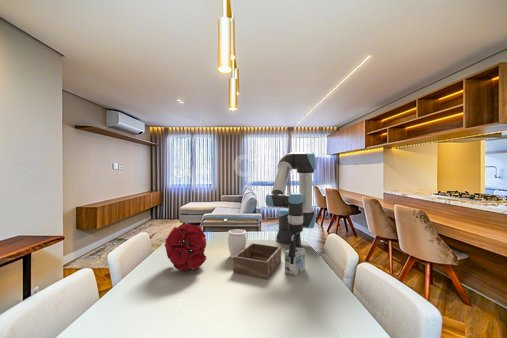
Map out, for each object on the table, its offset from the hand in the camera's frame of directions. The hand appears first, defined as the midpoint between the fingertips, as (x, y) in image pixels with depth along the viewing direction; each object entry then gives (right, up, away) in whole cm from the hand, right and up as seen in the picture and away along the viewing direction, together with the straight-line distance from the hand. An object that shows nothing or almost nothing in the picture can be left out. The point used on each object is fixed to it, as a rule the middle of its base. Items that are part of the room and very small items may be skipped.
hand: (295, 265), depth 121 cm
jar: (-31, -3, +18) cm, 36 cm away
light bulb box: (0, -3, 0) cm, 3 cm away
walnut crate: (-19, -2, +5) cm, 19 cm away
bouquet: (-56, -2, +4) cm, 56 cm away
